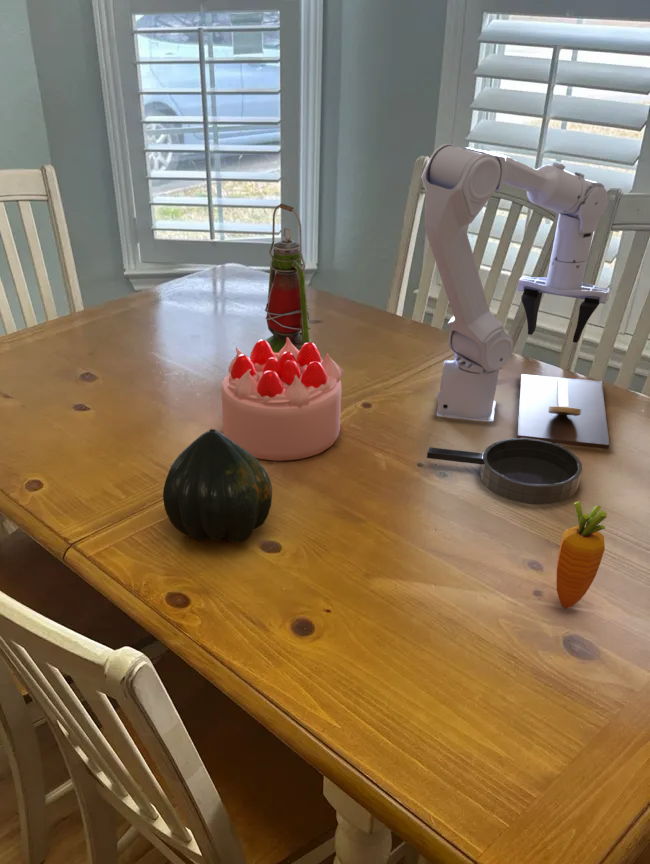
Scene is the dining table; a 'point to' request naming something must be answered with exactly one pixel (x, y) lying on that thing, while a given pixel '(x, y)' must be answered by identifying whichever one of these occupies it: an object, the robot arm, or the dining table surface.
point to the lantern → (287, 292)
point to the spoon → (563, 401)
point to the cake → (282, 401)
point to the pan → (530, 470)
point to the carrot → (579, 556)
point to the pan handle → (455, 455)
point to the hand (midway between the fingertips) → (553, 336)
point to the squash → (217, 490)
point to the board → (562, 428)
